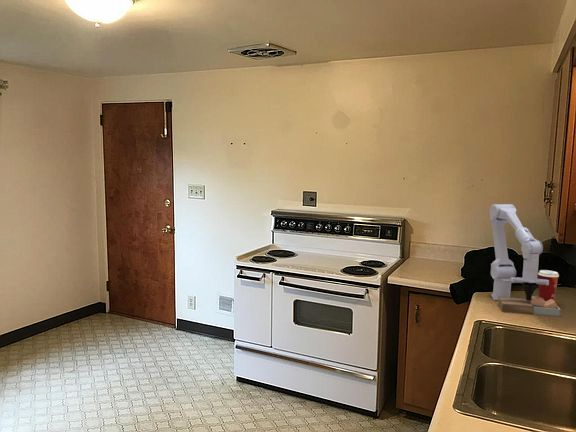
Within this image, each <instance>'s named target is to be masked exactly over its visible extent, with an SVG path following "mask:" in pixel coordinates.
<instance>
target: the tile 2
mask: <svg viewBox="0 0 576 432" xmlns="http://www.w3.org/2000/svg"><path fill="white" fill-rule="evenodd" d="M557 307H559V306H558V304H557V303H556V300H555V301H554V300H553V299H550V300H548V301H546V302H545V304H544V307H543V308H553V309H555V308H557Z"/></svg>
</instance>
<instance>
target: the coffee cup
mask: <svg viewBox="0 0 576 432" xmlns="http://www.w3.org/2000/svg"><path fill="white" fill-rule="evenodd" d="M559 277H560V274H559V272H557V271H554V270H548V269H540V270H538V279H544V280H548V281H549V285H543V284H538V297H540V298H543V299H544V300H545V302H546V301H548V300H550V299H553V300H554V301H555V302H556V300H555V299H556V295H557V293H556V292H557V287H558V280H559Z"/></svg>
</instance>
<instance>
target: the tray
mask: <svg viewBox="0 0 576 432" xmlns="http://www.w3.org/2000/svg"><path fill="white" fill-rule="evenodd" d="M532 305H533V306H534V310H533V315H539V316H549V317H561V312H562V310H561V308H560V307H559V306H558V307H557V308H555V309H553V308H543V307H542V306H538V305H534V304H532Z"/></svg>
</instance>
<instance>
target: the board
mask: <svg viewBox="0 0 576 432" xmlns="http://www.w3.org/2000/svg"><path fill="white" fill-rule="evenodd" d="M497 306H498V307H499V309H500V310H501V312H503V313H511V314H520V315H521V314H523V315H534V314H533V310H534V306H533V305H532V304H531V303H530V302H529V301H527V300H526V298H523V297H511V296H510V297H499V296H498V300H497Z"/></svg>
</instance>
